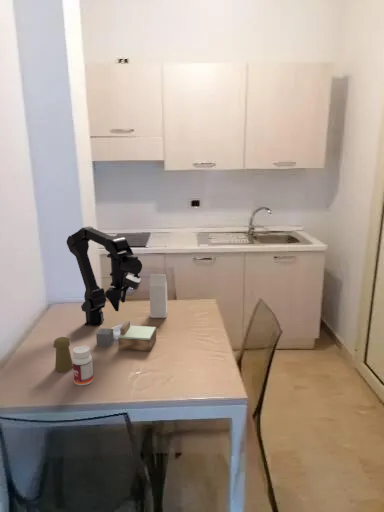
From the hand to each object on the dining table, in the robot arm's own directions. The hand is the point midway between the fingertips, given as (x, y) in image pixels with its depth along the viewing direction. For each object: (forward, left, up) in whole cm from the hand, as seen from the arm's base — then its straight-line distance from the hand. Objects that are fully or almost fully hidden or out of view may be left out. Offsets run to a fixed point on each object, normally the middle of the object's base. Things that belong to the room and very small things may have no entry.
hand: (120, 306), depth 165 cm
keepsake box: (+10, -10, -11) cm, 18 cm away
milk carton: (+11, +20, -12) cm, 26 cm away
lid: (+10, -10, -7) cm, 15 cm away
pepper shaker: (-11, -30, -12) cm, 34 cm away
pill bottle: (-1, -37, -12) cm, 38 cm away
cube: (-3, -10, -12) cm, 15 cm away
